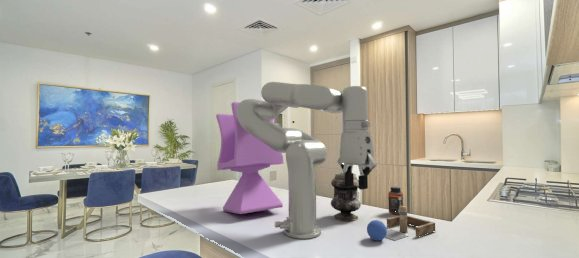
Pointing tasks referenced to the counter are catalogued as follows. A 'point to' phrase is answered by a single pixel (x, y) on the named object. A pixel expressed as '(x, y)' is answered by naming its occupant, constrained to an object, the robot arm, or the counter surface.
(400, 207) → the pin
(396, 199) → the supplement bottle
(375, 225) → the ball
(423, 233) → the wooden tray
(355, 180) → the apothecary jar
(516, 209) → the counter surface
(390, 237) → the translucent flat square slab
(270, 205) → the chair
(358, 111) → the robot arm
